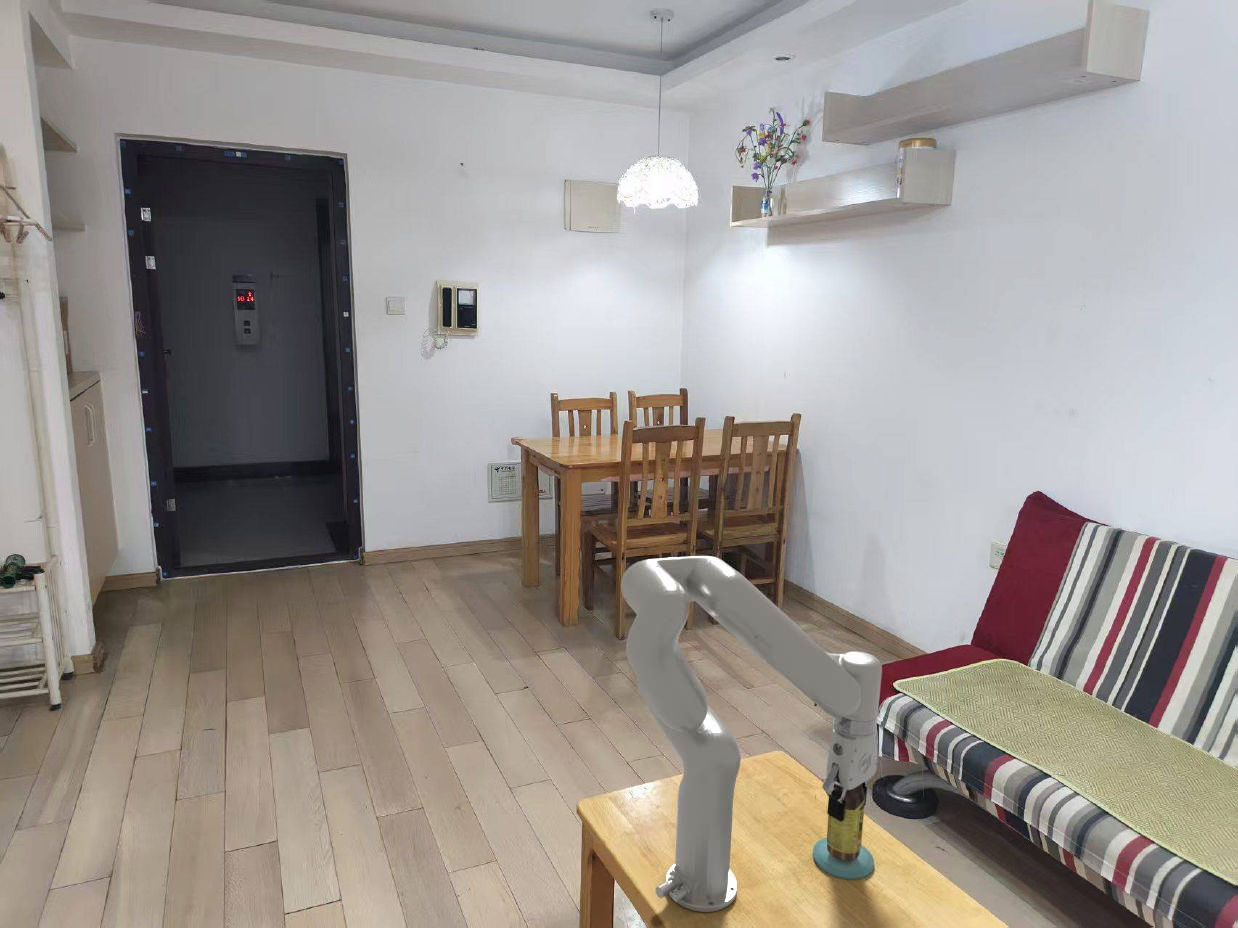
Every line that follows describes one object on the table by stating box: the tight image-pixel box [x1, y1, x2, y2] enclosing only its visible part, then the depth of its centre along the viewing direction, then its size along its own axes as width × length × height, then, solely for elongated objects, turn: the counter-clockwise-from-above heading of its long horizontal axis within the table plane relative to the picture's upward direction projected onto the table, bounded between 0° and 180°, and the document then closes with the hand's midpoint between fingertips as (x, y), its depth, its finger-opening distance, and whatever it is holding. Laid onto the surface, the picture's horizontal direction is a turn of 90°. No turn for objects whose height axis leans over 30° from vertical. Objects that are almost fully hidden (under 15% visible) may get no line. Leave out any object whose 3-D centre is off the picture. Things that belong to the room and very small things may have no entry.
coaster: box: [812, 837, 875, 881], centre depth 151 cm, size 11×11×1 cm
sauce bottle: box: [826, 778, 865, 861], centre depth 149 cm, size 7×6×20 cm
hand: (846, 809), depth 149 cm, fingers closed on sauce bottle, 6 cm apart
